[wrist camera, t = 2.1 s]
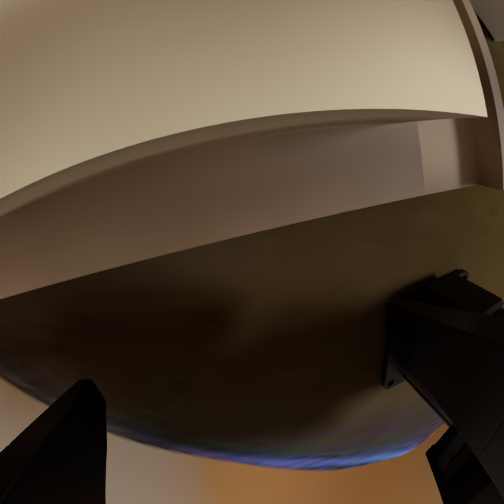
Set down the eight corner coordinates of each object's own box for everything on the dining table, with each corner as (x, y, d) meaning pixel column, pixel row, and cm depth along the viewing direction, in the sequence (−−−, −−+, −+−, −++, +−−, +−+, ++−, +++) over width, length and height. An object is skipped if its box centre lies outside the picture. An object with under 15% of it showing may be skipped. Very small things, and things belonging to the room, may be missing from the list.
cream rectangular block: (385, 124, 8) (487, 117, 4) (6, 214, 6) (-83, 253, 2) (348, -6, 6) (419, -59, 2) (-8, 71, 4) (-83, 46, 1)
